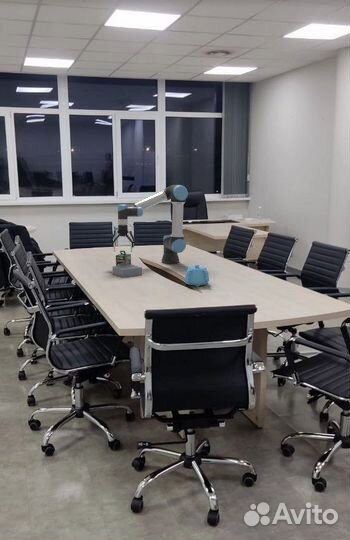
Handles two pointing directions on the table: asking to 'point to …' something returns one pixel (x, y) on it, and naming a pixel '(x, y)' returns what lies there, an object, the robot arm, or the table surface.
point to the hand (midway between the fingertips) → (123, 251)
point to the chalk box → (123, 259)
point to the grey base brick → (127, 270)
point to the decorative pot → (196, 276)
